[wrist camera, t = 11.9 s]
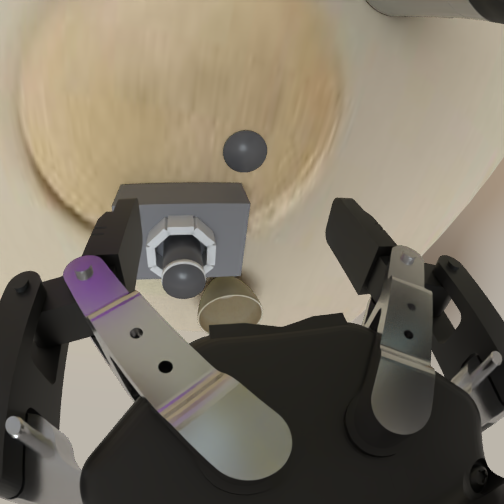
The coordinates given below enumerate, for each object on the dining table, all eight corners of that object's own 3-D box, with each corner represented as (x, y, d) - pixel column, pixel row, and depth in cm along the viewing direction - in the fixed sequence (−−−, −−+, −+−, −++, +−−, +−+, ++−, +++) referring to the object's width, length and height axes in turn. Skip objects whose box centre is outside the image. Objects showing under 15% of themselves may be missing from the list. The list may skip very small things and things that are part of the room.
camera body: (241, 183, 39) (254, 214, 32) (233, 249, 45) (244, 288, 38) (120, 184, 35) (107, 217, 28) (128, 252, 41) (121, 292, 35)
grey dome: (268, 131, 35) (270, 132, 35) (262, 171, 39) (263, 173, 38) (224, 128, 34) (225, 129, 33) (220, 169, 37) (221, 171, 37)
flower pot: (191, 266, 45) (194, 299, 40) (254, 259, 47) (265, 290, 42) (197, 309, 51) (201, 341, 46) (252, 302, 53) (261, 333, 48)
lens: (201, 227, 35) (207, 265, 29) (200, 258, 37) (205, 298, 32) (161, 228, 33) (159, 266, 28) (163, 259, 36) (163, 300, 31)
